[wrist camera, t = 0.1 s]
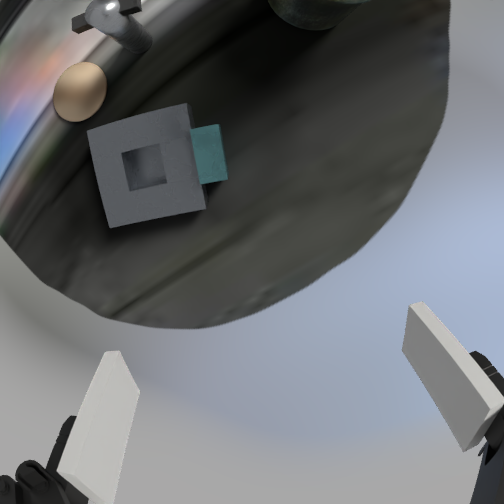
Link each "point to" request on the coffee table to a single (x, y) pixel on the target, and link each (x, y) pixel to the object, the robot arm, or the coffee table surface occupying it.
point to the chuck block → (156, 164)
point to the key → (115, 23)
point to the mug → (314, 12)
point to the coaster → (80, 91)
